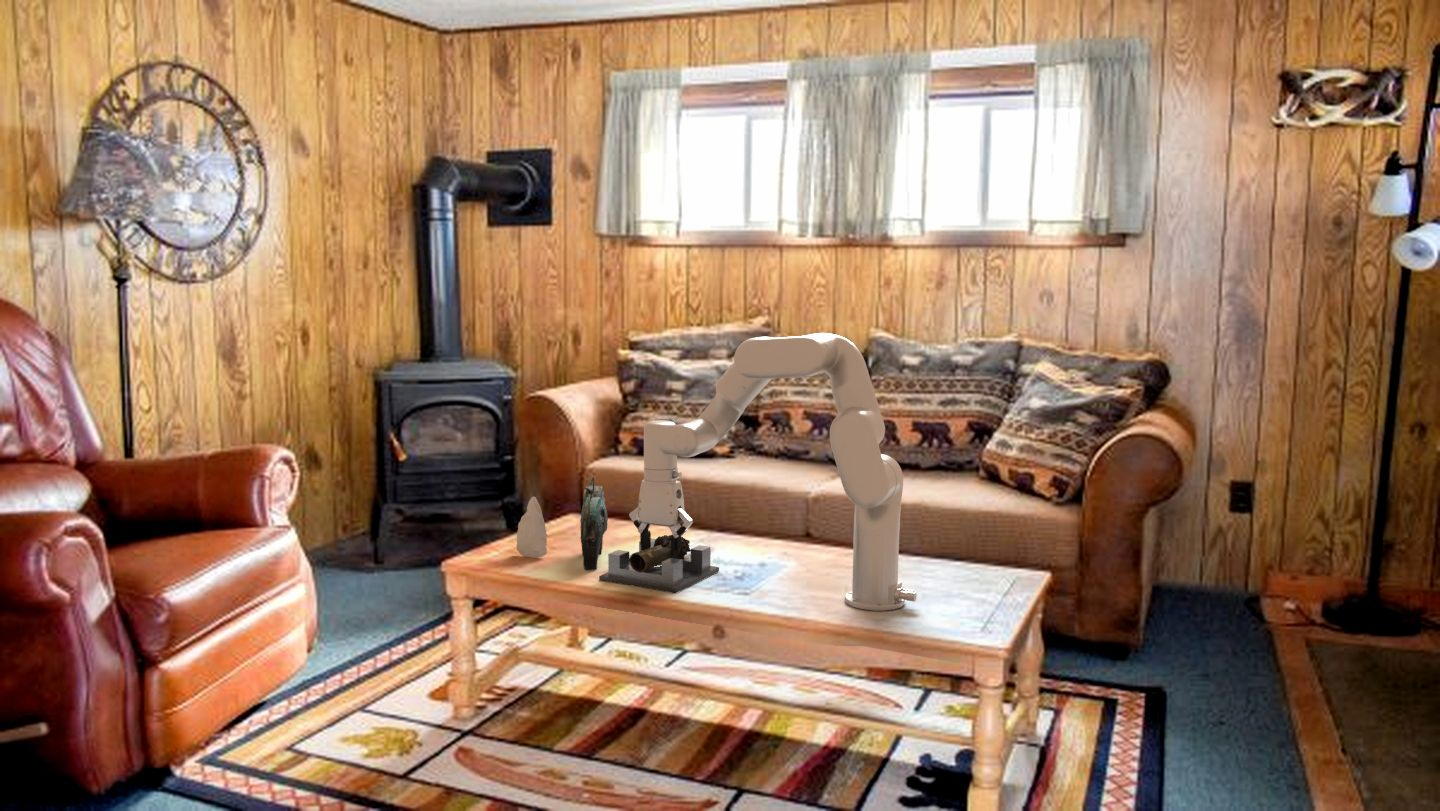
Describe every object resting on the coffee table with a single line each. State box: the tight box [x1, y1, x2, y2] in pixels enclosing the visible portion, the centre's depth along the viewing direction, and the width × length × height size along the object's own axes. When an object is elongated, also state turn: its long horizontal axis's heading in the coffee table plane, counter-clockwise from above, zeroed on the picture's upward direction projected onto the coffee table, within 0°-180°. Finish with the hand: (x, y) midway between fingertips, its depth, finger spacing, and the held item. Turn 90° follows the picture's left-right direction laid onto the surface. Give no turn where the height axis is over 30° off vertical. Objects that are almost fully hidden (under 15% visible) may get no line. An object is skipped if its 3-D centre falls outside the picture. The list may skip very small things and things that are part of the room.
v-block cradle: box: [598, 537, 720, 594], centre depth 249 cm, size 20×20×6 cm
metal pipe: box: [629, 533, 691, 573], centre depth 249 cm, size 18×7×6 cm, turn 144°
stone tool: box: [516, 496, 548, 559], centre depth 264 cm, size 8×3×15 cm, turn 70°
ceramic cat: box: [580, 476, 609, 571], centre depth 262 cm, size 20×6×20 cm, turn 2°
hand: (660, 550), depth 249 cm, fingers open, 7 cm apart
